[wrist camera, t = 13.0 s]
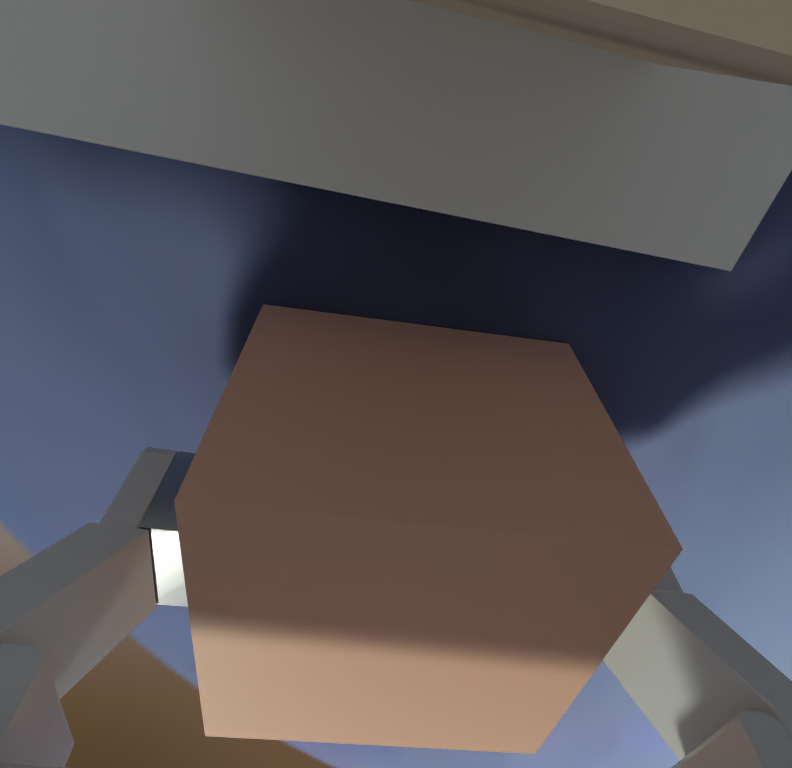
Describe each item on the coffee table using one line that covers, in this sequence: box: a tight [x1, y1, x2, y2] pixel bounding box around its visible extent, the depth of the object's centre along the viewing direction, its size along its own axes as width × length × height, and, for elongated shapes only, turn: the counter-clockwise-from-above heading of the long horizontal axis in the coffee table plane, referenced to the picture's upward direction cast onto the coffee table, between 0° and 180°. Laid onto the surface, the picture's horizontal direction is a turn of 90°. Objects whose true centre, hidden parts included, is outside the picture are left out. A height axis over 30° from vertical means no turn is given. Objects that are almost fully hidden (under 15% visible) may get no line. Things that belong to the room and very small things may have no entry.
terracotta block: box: [174, 304, 682, 754], centre depth 9 cm, size 6×6×4 cm
